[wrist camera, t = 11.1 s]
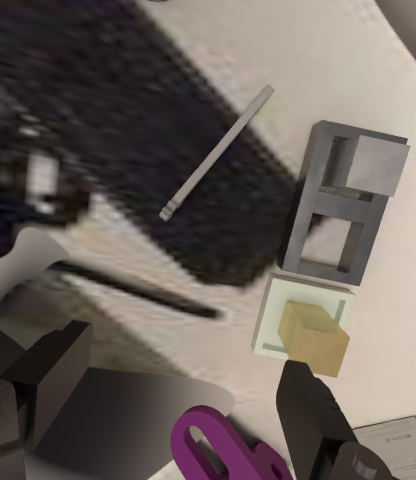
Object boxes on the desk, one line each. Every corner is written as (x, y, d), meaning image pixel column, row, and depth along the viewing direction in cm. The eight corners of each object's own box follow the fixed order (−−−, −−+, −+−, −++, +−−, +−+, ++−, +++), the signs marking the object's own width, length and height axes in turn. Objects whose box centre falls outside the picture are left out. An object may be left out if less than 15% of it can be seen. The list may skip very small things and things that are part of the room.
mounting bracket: (182, 411, 50) (253, 514, 44) (158, 437, 42) (241, 566, 36) (219, 377, 48) (298, 479, 42) (202, 397, 40) (295, 525, 34)
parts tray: (270, 273, 38) (273, 278, 36) (348, 289, 38) (355, 295, 36) (251, 345, 40) (253, 353, 38) (325, 360, 40) (331, 369, 39)
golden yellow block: (286, 299, 38) (305, 328, 30) (322, 306, 38) (350, 337, 30) (277, 332, 39) (293, 368, 31) (312, 339, 39) (336, 377, 31)
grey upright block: (327, 146, 35) (360, 135, 27) (366, 154, 35) (410, 145, 27) (316, 186, 36) (345, 186, 28) (354, 194, 36) (393, 196, 28)
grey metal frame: (313, 125, 35) (322, 119, 32) (391, 142, 35) (408, 138, 32) (276, 263, 38) (281, 270, 35) (348, 278, 38) (359, 286, 35)
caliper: (170, 218, 37) (162, 225, 31) (163, 213, 37) (154, 219, 31) (273, 91, 34) (287, 70, 28) (267, 84, 34) (278, 62, 28)
